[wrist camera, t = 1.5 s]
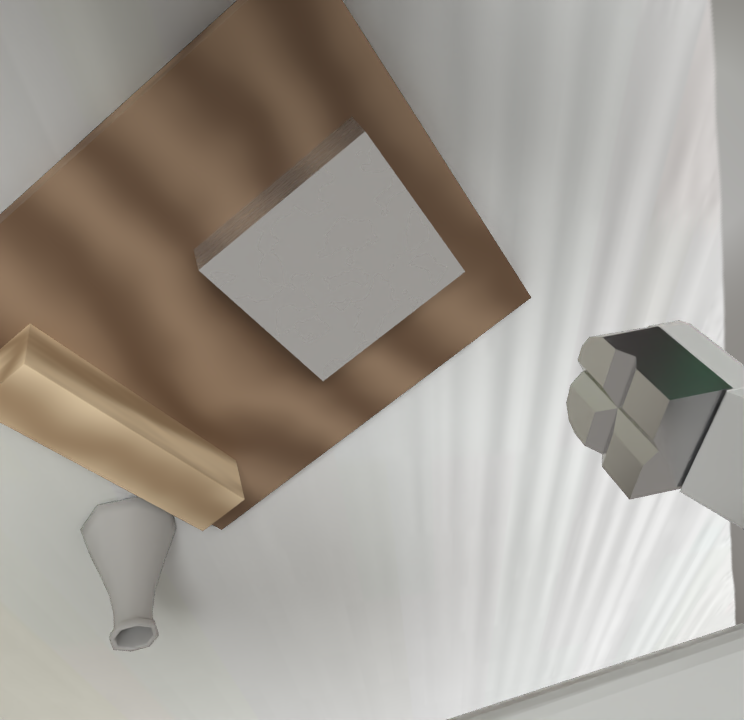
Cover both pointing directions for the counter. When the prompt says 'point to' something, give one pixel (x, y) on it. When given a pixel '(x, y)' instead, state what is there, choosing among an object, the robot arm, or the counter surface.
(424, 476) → the counter surface
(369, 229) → the aluminium plate
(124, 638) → the flask
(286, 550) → the counter surface
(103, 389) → the bar
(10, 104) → the counter surface
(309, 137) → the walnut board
